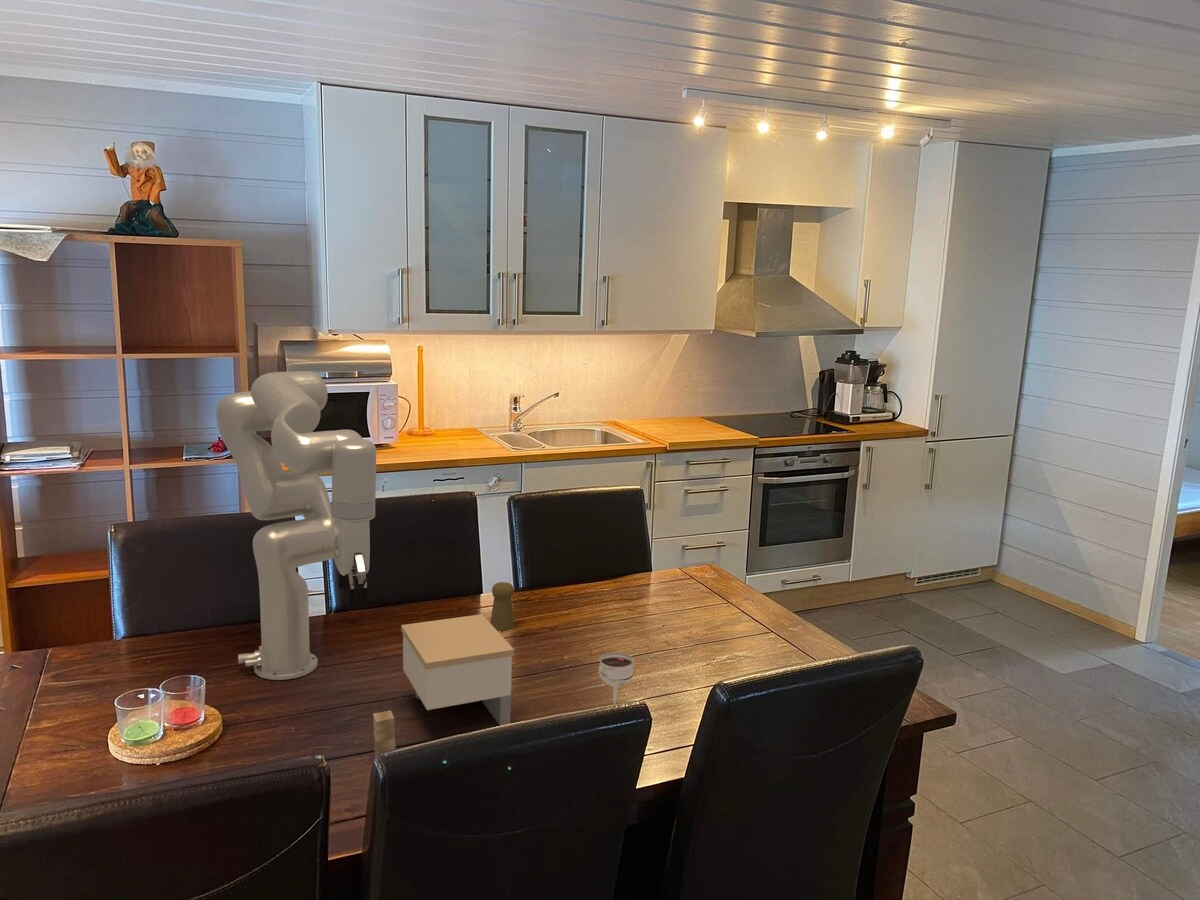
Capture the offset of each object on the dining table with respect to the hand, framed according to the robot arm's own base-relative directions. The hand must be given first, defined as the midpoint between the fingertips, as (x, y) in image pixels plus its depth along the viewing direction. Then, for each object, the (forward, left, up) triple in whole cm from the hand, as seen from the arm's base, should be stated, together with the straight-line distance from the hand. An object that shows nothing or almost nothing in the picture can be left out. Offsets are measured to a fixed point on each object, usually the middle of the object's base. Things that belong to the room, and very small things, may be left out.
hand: (352, 597), depth 160 cm
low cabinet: (+19, -3, -24) cm, 31 cm away
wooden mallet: (+10, -15, -24) cm, 30 cm away
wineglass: (+46, -17, -25) cm, 55 cm away
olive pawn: (+41, +33, -25) cm, 58 cm away
